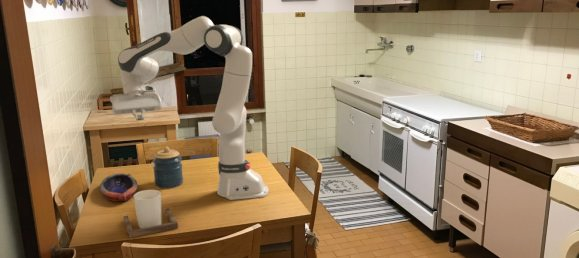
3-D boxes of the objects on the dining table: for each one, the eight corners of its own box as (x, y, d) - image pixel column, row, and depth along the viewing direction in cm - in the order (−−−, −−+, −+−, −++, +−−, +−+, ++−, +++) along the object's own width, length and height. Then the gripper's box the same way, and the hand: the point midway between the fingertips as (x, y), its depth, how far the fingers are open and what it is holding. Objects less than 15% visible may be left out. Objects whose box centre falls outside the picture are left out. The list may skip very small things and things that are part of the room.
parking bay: (124, 221, 177) (123, 216, 177) (169, 212, 184) (168, 207, 184) (129, 238, 164) (129, 232, 163) (178, 228, 171) (177, 223, 170)
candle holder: (130, 228, 171) (127, 197, 169) (147, 217, 180) (145, 188, 177) (152, 232, 168) (149, 201, 165) (169, 221, 177) (166, 191, 174)
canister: (149, 187, 211) (146, 150, 207) (162, 178, 224) (159, 142, 220) (176, 189, 209) (174, 151, 205) (187, 179, 222) (185, 143, 217)
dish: (135, 179, 223) (134, 169, 222) (140, 202, 195) (139, 191, 194) (100, 184, 217) (99, 173, 216) (100, 208, 190) (99, 197, 188)
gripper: (109, 90, 196) (114, 117, 189) (158, 86, 204) (165, 112, 198) (109, 99, 201) (113, 126, 194) (157, 95, 209) (163, 121, 203)
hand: (140, 119), depth 196 cm, fingers closed
